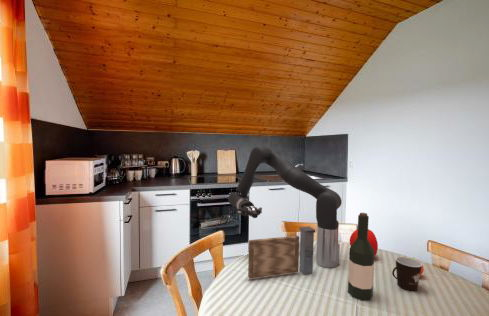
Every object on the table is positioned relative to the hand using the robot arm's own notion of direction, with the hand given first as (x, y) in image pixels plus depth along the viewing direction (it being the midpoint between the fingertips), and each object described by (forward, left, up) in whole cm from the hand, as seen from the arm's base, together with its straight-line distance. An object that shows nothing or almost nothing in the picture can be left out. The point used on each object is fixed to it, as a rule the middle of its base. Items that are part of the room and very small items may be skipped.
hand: (255, 215), depth 114 cm
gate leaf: (-4, +14, -21) cm, 25 cm away
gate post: (-19, +14, -22) cm, 32 cm away
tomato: (-54, +7, -22) cm, 59 cm away
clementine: (-62, +27, -22) cm, 71 cm away
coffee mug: (-50, +33, -22) cm, 64 cm away
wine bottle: (-30, +33, -22) cm, 50 cm away
